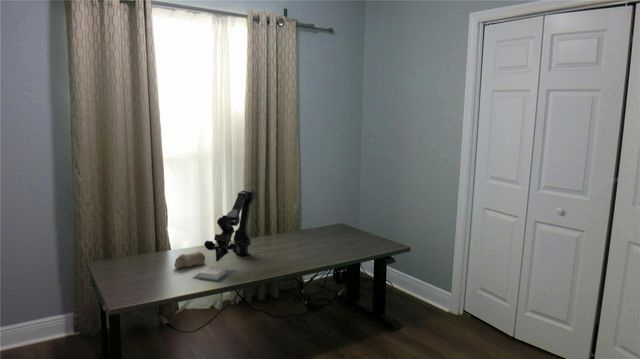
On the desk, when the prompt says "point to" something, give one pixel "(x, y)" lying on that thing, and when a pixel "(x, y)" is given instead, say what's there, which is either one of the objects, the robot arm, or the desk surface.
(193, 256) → the sculpture
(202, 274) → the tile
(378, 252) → the desk surface
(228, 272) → the mat
